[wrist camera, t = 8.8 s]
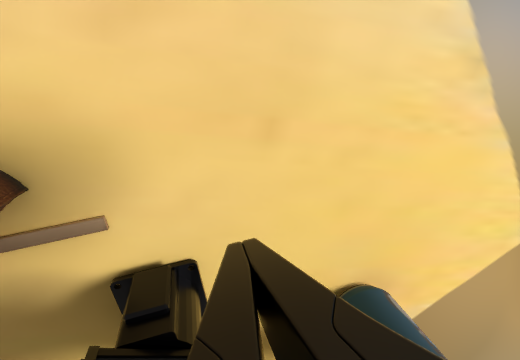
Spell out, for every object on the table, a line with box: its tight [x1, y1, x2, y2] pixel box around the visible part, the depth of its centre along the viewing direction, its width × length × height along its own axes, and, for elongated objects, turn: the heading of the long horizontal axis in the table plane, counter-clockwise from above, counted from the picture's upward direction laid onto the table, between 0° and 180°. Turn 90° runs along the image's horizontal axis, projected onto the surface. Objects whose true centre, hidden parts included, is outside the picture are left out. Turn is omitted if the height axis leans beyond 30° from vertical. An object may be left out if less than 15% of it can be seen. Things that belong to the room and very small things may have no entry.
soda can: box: [340, 285, 447, 360], centre depth 24 cm, size 7×7×12 cm
